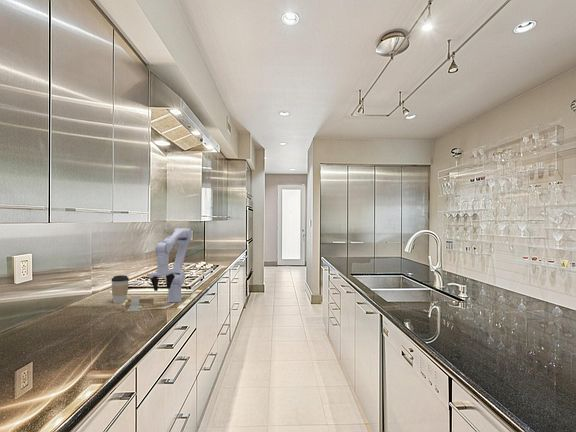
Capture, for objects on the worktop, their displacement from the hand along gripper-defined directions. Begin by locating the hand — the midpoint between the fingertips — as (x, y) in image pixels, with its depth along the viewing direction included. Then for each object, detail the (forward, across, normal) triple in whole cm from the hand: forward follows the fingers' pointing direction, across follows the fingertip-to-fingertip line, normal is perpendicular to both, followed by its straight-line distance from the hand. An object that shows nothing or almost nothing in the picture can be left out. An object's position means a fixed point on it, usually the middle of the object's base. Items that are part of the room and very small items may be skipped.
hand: (162, 289), depth 177 cm
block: (+10, +11, -8) cm, 16 cm away
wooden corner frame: (+10, +8, -9) cm, 16 cm away
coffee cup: (+10, +8, -29) cm, 32 cm away
